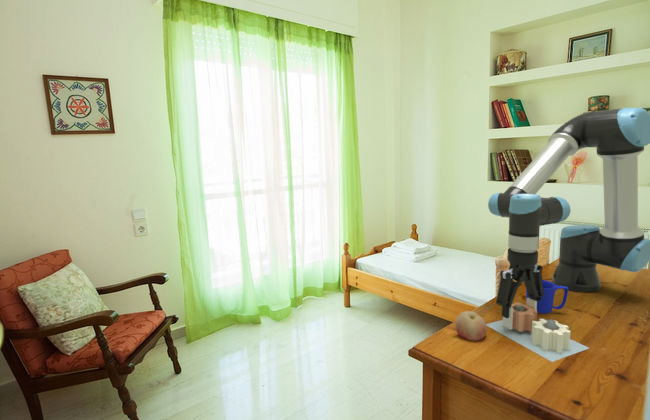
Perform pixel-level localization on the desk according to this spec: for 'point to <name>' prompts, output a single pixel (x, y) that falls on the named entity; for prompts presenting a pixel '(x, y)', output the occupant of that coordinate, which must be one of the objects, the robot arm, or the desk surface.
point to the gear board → (526, 340)
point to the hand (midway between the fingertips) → (519, 323)
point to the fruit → (470, 326)
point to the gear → (550, 336)
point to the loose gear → (523, 317)
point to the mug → (549, 297)
